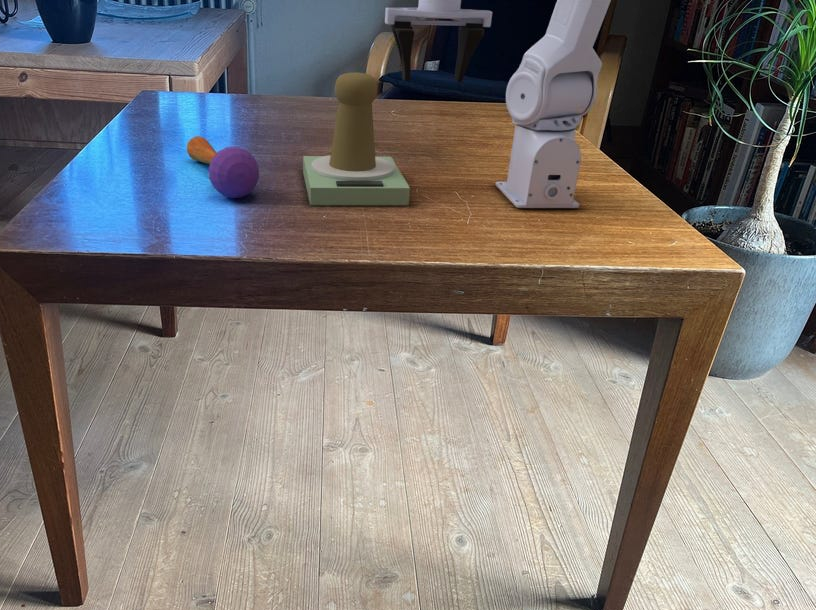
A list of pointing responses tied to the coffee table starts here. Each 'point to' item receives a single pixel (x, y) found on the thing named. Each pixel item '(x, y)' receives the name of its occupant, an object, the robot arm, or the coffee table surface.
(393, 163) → the scale
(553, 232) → the coffee table surface
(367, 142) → the cork
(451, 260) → the coffee table surface
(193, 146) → the maraca
